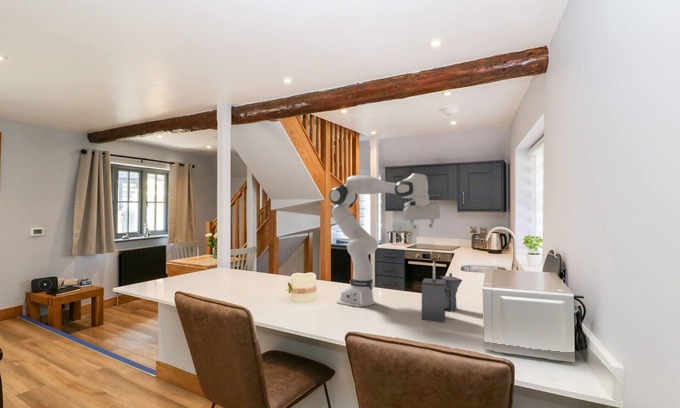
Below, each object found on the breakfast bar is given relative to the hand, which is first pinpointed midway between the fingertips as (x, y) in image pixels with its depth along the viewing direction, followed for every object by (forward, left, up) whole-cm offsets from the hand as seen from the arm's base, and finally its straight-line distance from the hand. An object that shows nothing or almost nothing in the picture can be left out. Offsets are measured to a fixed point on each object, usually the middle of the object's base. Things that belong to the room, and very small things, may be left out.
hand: (422, 228), depth 190 cm
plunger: (+7, -7, -35) cm, 36 cm away
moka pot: (+13, +13, -46) cm, 49 cm away
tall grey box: (+8, -7, -46) cm, 47 cm away
